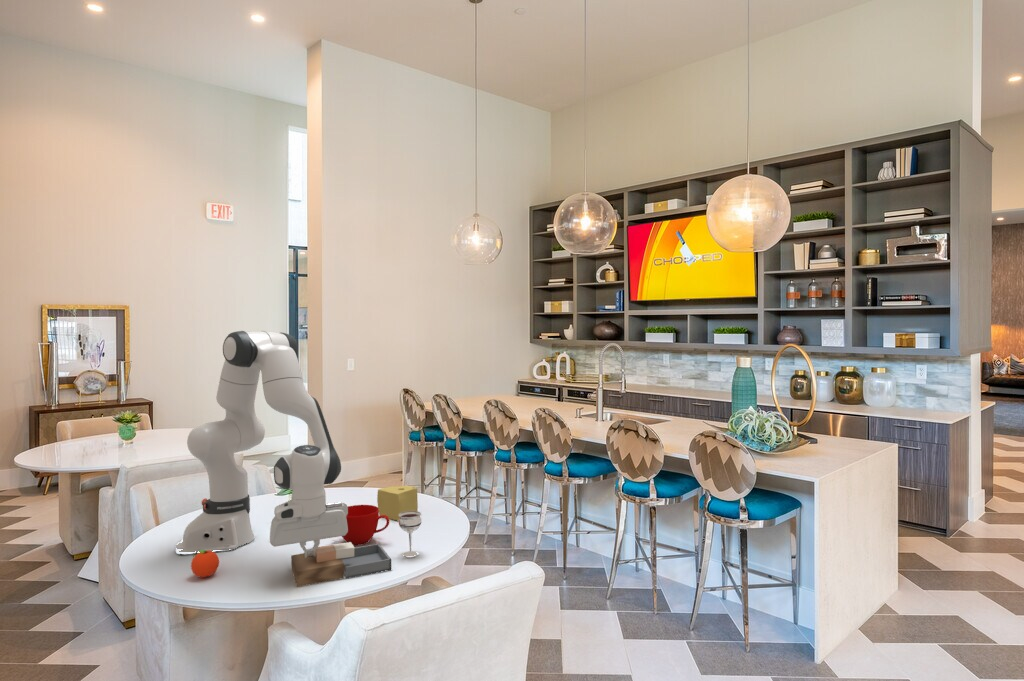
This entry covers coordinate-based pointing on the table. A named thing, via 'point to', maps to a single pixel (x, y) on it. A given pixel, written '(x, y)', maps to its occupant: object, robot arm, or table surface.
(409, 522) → the wineglass
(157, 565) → the table surface
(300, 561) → the walnut block
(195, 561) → the clementine
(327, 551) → the tile
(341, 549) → the tile
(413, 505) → the cheese
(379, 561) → the tray
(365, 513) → the ceramic cup
